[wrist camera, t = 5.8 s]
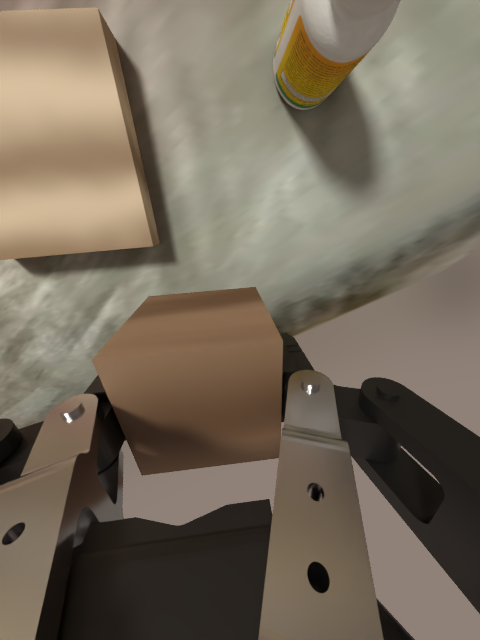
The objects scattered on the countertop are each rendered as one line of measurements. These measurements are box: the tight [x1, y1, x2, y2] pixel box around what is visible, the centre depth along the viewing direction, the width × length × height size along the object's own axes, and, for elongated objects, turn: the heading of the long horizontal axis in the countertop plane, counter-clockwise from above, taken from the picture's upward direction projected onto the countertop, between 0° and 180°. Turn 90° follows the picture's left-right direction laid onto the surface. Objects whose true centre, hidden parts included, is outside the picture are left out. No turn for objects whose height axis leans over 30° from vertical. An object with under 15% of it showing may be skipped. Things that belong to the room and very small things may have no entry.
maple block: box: [0, 8, 160, 260], centre depth 17 cm, size 14×14×3 cm
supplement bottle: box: [273, 0, 400, 110], centre depth 13 cm, size 5×5×10 cm
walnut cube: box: [92, 287, 283, 475], centre depth 9 cm, size 5×5×5 cm
